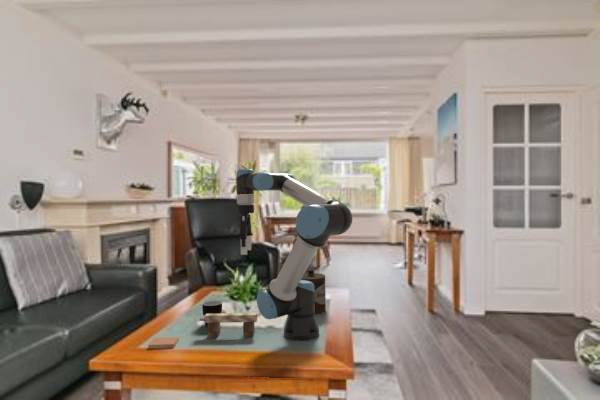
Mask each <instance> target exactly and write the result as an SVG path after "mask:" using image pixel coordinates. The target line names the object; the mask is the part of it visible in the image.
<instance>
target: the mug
mask: <svg viewBox="0 0 600 400" xmlns="http://www.w3.org/2000/svg"><path fill="white" fill-rule="evenodd" d="M201 305H202V307H201V308H202V316H203V315H206V314H216V313H223V302H222V301H221V300H216V299H215V300H207V301H204V302H202V304H201ZM203 323H204V325H205V326H206V327H208V323H205V321H203Z"/></svg>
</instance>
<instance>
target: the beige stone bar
mask: <svg viewBox="0 0 600 400" xmlns="http://www.w3.org/2000/svg"><path fill="white" fill-rule="evenodd" d="M198 321H199V322H204V321H205V323H220V324H221V323H244V322H254V323H257V321H258V312H244V313H243V312H233V313H232V312H231V313H229V312H228V313H227V312H226V313H223V312H222V313H216V314H206V315H203V314H202V315H201V317H200V318H199V320H198ZM205 323H204V324H205Z"/></svg>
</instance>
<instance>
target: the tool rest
mask: <svg viewBox="0 0 600 400" xmlns="http://www.w3.org/2000/svg"><path fill="white" fill-rule="evenodd" d="M255 329H256V328H255V322H242V330H243V331H242V333H243V335H242V336H243V338H254V335H255V331H256V330H255ZM220 334H221V323H208V326H207V339H218V337H219V336H220Z"/></svg>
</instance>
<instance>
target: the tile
mask: <svg viewBox="0 0 600 400" xmlns="http://www.w3.org/2000/svg"><path fill="white" fill-rule="evenodd" d="M179 338H180V337H179V336H171V337H165V336H164V337H153V338H152V340H151V341H150V342H149V343H148V346H147V349H148V348H156V349H172V348H173V349H174V348H175V347H176V345H177V344H178V343H179V342H180V341H179Z"/></svg>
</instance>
